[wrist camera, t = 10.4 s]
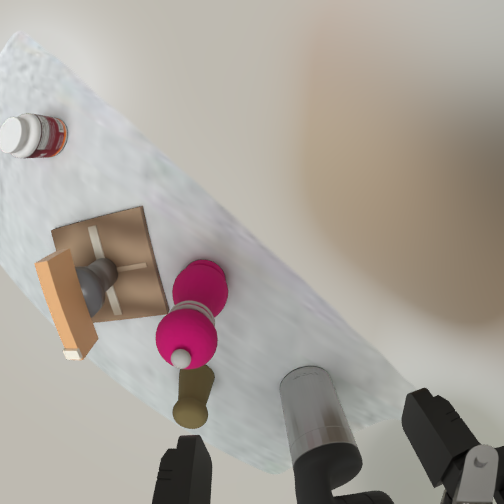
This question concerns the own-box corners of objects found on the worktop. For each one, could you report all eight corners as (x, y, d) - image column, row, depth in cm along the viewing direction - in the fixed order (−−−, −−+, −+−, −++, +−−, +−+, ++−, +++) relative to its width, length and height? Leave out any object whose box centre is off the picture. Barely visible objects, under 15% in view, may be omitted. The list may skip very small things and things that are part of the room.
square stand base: (169, 310, 44) (157, 337, 36) (84, 320, 44) (62, 344, 36) (142, 206, 40) (121, 215, 32) (54, 228, 40) (25, 241, 32)
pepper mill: (226, 305, 44) (218, 399, 25) (177, 299, 44) (141, 387, 24) (231, 259, 42) (225, 335, 23) (180, 252, 42) (136, 322, 22)
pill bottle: (35, 153, 36) (-10, 154, 26) (45, 115, 35) (1, 108, 24) (62, 161, 37) (18, 163, 26) (73, 121, 36) (30, 113, 25)
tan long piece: (91, 241, 32) (59, 259, 25) (118, 330, 36) (96, 362, 28) (52, 248, 32) (19, 267, 25) (79, 332, 36) (55, 361, 28)
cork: (185, 357, 46) (174, 402, 36) (219, 369, 47) (216, 416, 37) (175, 381, 48) (163, 426, 37) (207, 392, 49) (202, 438, 38)
